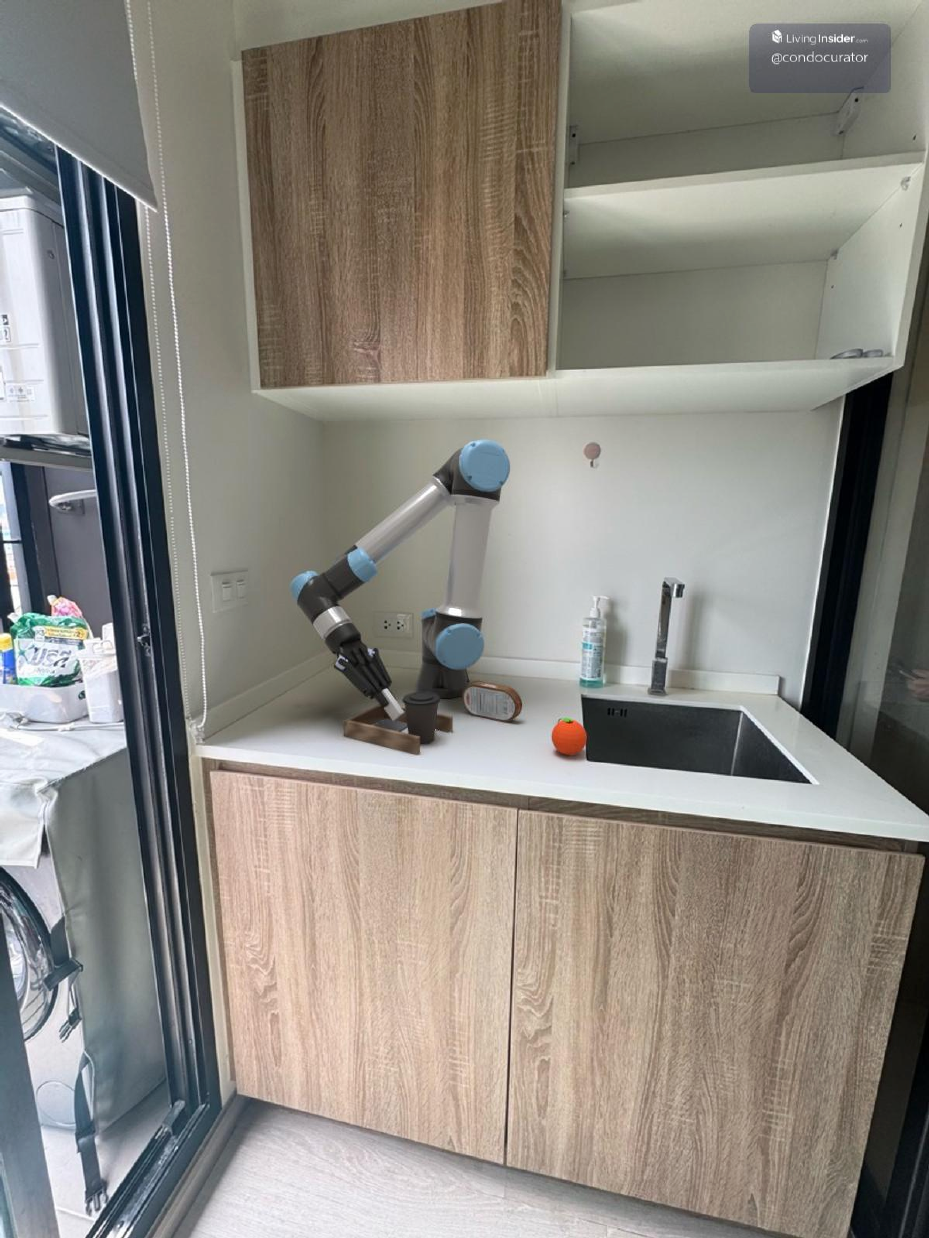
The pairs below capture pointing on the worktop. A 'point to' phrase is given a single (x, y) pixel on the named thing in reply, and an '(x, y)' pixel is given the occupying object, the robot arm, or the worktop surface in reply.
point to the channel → (388, 730)
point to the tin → (492, 701)
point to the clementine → (569, 736)
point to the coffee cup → (421, 714)
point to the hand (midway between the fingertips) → (398, 716)
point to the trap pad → (392, 725)
